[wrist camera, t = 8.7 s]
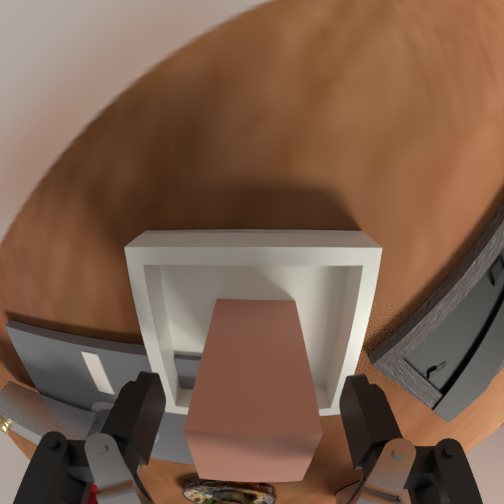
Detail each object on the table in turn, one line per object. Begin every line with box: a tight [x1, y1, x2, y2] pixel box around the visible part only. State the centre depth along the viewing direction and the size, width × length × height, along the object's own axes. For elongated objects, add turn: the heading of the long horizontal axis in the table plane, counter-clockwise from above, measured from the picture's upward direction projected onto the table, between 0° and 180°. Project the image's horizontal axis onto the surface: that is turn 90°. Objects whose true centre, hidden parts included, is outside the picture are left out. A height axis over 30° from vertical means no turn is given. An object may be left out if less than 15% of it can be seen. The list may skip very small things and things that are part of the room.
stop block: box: [184, 298, 323, 482], centre depth 11 cm, size 4×4×8 cm
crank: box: [0, 380, 142, 474], centre depth 16 cm, size 17×5×6 cm, turn 90°
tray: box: [124, 229, 382, 416], centre depth 14 cm, size 11×11×3 cm
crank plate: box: [5, 320, 202, 465], centre depth 18 cm, size 20×15×1 cm
